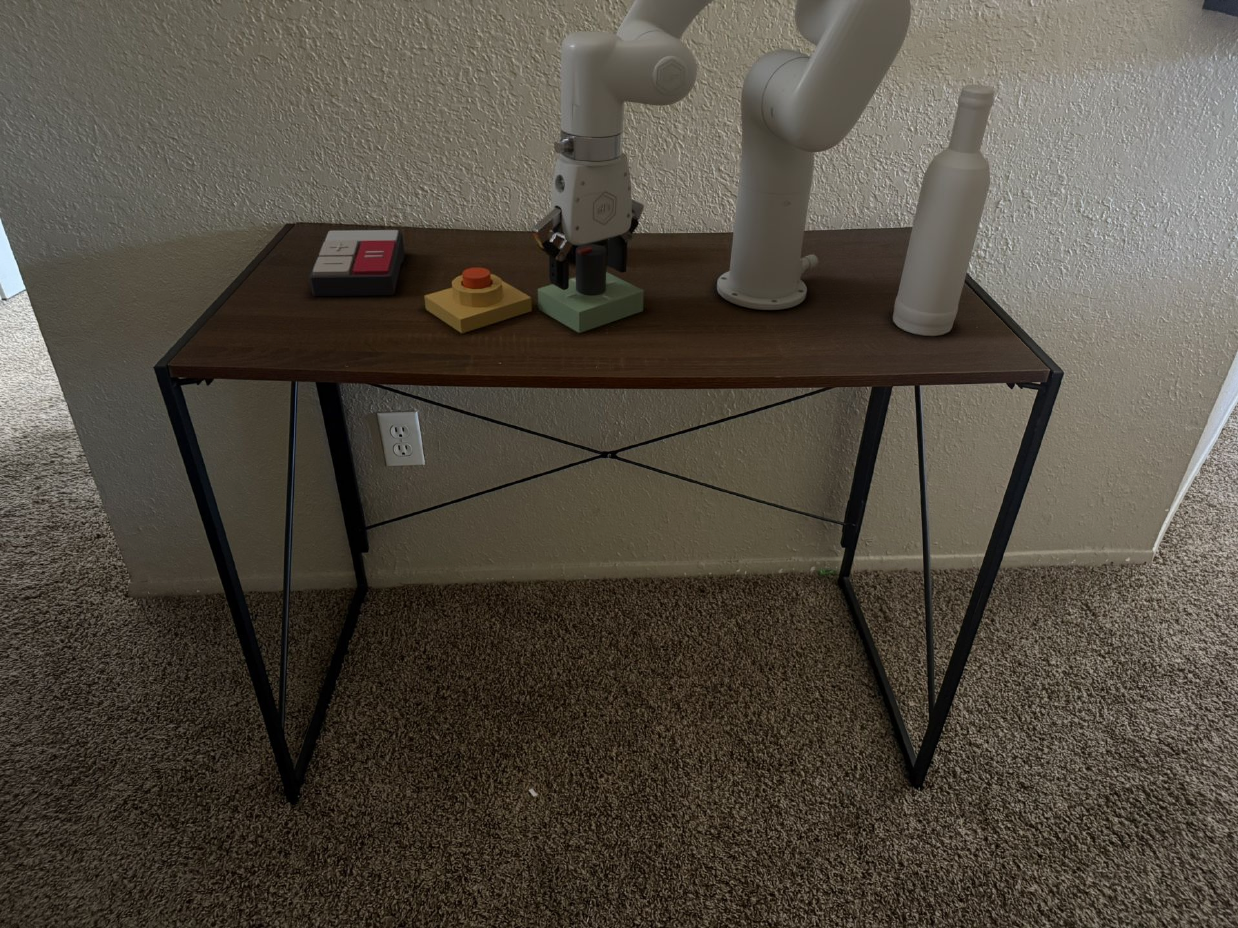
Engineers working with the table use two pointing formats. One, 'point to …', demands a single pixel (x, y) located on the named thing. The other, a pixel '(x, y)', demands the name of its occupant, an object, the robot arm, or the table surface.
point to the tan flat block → (477, 304)
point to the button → (476, 278)
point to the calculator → (358, 263)
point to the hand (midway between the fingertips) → (588, 277)
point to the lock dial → (591, 269)
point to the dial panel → (590, 304)
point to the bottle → (946, 222)
